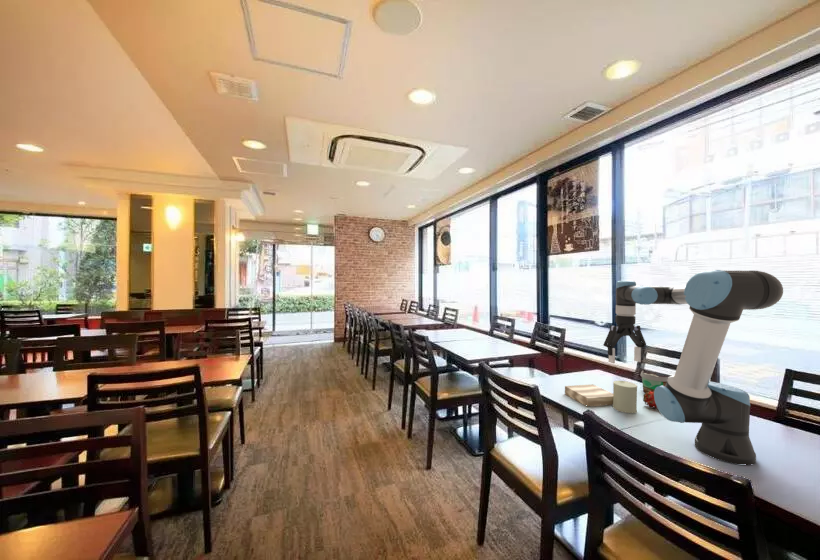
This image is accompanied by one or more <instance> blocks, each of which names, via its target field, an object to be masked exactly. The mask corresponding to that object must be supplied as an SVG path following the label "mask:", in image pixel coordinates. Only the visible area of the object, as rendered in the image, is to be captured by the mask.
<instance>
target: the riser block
mask: <svg viewBox="0 0 820 560" xmlns="http://www.w3.org/2000/svg"><path fill="white" fill-rule="evenodd" d="M564 394H565V395H566V396H568V397H570V398H571V399H573V400H574V401H577V402H578V403H580V404H582V405H583V404H584V405H583V406H585V405H587V406H590V407H600V406H601V407H603V406H613V393H612V392H610V391H609V390H606V389H604V388H603V387H599V386H598V385H595V384H578V385H577V384H576V385H565V386H564ZM587 406H586V407H587Z"/></svg>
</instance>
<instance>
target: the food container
mask: <svg viewBox="0 0 820 560" xmlns="http://www.w3.org/2000/svg"><path fill="white" fill-rule="evenodd" d="M640 377H641V380H642V381H641V383H642V391H643V393H645V392H647V391H651V392H652V391H655V388H656V387H658V386H661V385H662V386H665V385H666V382H667V379H668V377H669V376H661V375H660V376H659V375H658V374H657V375H656V374H653V373H647V372H644V370H642V371H641V372H640Z"/></svg>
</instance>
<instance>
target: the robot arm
mask: <svg viewBox="0 0 820 560" xmlns="http://www.w3.org/2000/svg"><path fill="white" fill-rule="evenodd" d="M783 294H784V287H783V284H782V282H781V281H780V280H779V279H778V278H777V276H774V275H773V274H770V273H768V272H765V271H761V270H760V271H759V270H723V269H714V270H713V269H712V270H704V271H699V272H698V273H695V274H694V275H692V276H690V278H689V279H688V280H687V282H686V284H681V285H663V286H662V285H655V286H654V285H637V283H636V281H635V280H618V281H616V284H615V314H616V315H615V321H614V322H615V324H616V326H615V325H610V326H609V331H608V333H607V335H606V338H605V341H604V343H603V347H605V348H607V355H608V362H609V363H611V364H615V363H616V348H615V347H616V345H617V343H618V342H619V341H620V339H621V338H623V337H626V336H627V337H630V339H631V340H632V342H633V343H634V345H635V346H634V350H633V352H634V354H633V356H634V359H633V360H634V361H635V362H638V363H641V361H642V353H643V352H642V351H643V348H645V347H646V346H647V342H646V340H645V337H644V336H643V333H642V329H641V326H640V325H638V324H636V316H635V315H636V314H637V313H636V312H637V311H636V309H637V308H636V307H637V306H636V305H637V304H639V305H644V306H645V305H646V306H647V305H679V306H680V305H688V306H689V308H688V309H689V310H690V312H691V313H692V314H693V315H692V319H691V323H690V326H689V328H688V332H687V335H686V339H685V341H684V345H683V347H682V350H681V354H680V357H679V360H678V363H677V367H676V370H675V372H674V374H673V375H669V376H667V377H668V379H667V382H666V385H665V386H662V385H661V386H658V387H656V388H655V391H654V400H655V403H656V406H657V408H658V409H657V410H658V411H659V414H661V415H662V416H663V418H665V420H668V421H670V422H673V423H680V424H681V423H682V424H684V423H689V424H691V423H692V424H693V423H694V424H701V425H700V427H699V430H698V432H697V434H696V436H695V438H694V447H695V448H696V449H697V450H698V451H699V452H701V453H703V454H705V455H706V456H708V455H709V456H708V457H710V456H711V458H713V457H714V458H713V459H715V458H716V460H718V459H719V460H718V461H721V462H724V463H729V464H732V463H733V465H737V464H746V465H745V466H752V465H751V464H753V465H755V464H756V463H757V453H756V452H755V448H754V446H753V444H752V441H751V438H750V417H751V403H750V401H751V400H750V399H751V397H750V395H749V394H748V393H747V392H746V391H745V390H743V389H741V388H739V387H734V386H732V385H728V384H725V383H720V382H715V381H711V378H712V375H713V372H714V369H715V367H716V364H717V361H718V359H719V356H720V354H721V351H722V347H723V345H724V341H725V339H726V337H727V334H728V332H729V331H728V330H729V329H730V326H731V324H732V323H734V322H738V321H740V318H741V316H742V313H743V311H744V310H748V311H749V310H753V311H755V310H763V309H767V308H770V307H773V306H775V304H777V303H778V302H779V301H780V300H781V299H782V297H783Z"/></svg>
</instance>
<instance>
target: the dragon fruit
mask: <svg viewBox="0 0 820 560" xmlns="http://www.w3.org/2000/svg"><path fill="white" fill-rule="evenodd" d="M642 397H643V399H642V402H644V405H646V406H649V408H652V409H653V408H655V409H657V410H658V408H657V406H656V403H655V400H654V391H652V392H651V391H647V392H644V393H643V395H642Z"/></svg>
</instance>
